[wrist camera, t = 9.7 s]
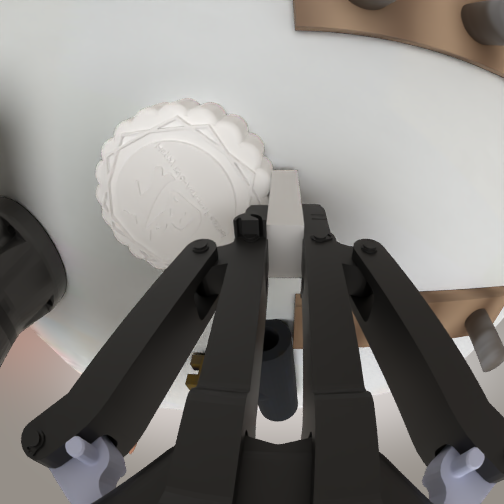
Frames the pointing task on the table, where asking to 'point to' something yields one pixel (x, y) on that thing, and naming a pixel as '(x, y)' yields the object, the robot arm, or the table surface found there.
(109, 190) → the mooncake
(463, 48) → the rails
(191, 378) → the pipe connector
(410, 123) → the table surface
